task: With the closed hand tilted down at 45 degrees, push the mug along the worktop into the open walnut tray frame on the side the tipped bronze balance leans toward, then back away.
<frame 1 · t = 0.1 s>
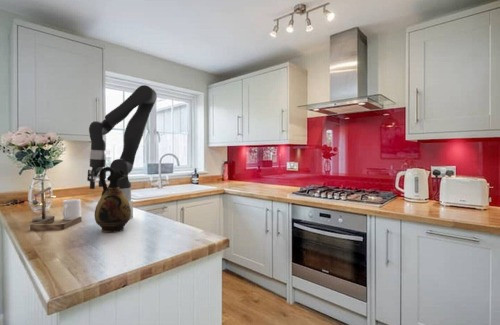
hand: (96, 187, 144), 17 cm above the worktop, tool pointing down, fingers open, 8 cm apart
tray frame: (57, 225, 132), on the worktop
mug: (70, 219, 144), on the worktop
ceramic jug: (112, 230, 125), on the worktop
balance: (43, 219, 143), on the worktop
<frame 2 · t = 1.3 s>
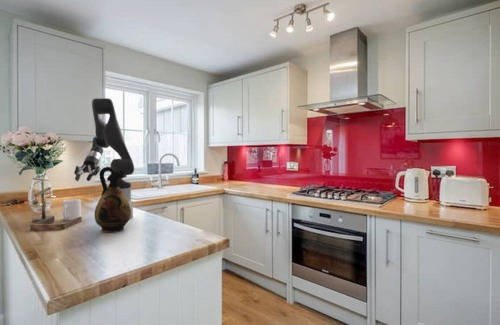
hand: (82, 180, 155), 20 cm above the worktop, tool tilted 45°, fingers open, 5 cm apart
nothing on the worktop moved.
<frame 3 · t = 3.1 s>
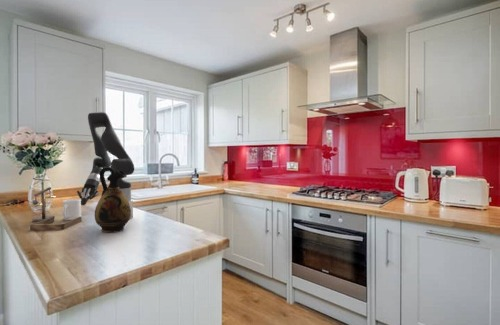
hand: (82, 204, 156), 6 cm above the worktop, tool tilted 45°, fingers closed
nothing on the worktop moved.
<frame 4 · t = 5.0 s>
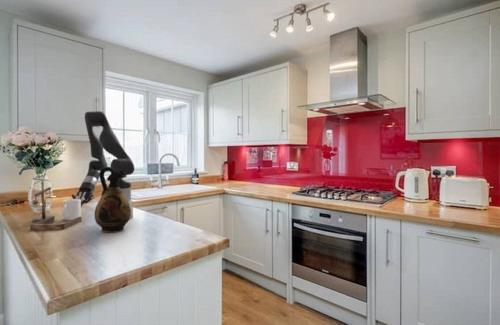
hand: (77, 209, 150), 4 cm above the worktop, tool tilted 45°, fingers closed
mug: (70, 219, 144), on the worktop, touching gripper
everything else where it was.
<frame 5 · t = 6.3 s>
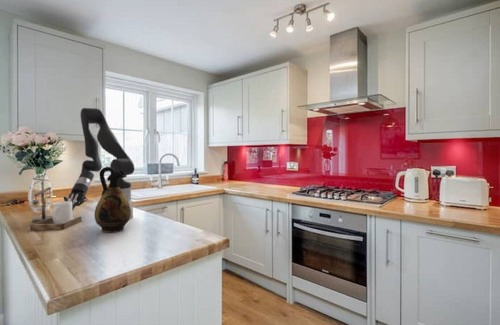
hand: (68, 211, 143), 4 cm above the worktop, tool tilted 45°, fingers closed
mug: (60, 223, 136), on the worktop, touching gripper
everything else where it was.
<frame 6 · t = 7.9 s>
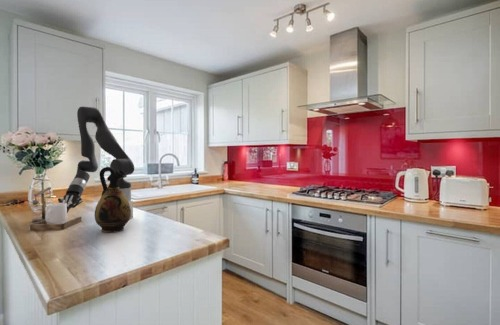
hand: (63, 213, 138), 4 cm above the worktop, tool tilted 45°, fingers closed
mug: (54, 225, 132), on the worktop, touching gripper
everything else where it was.
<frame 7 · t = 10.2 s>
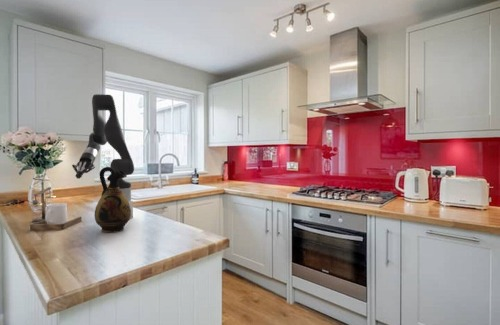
hand: (77, 177, 151), 22 cm above the worktop, tool tilted 45°, fingers closed
mug: (54, 225, 132), on the worktop
everything else where it was.
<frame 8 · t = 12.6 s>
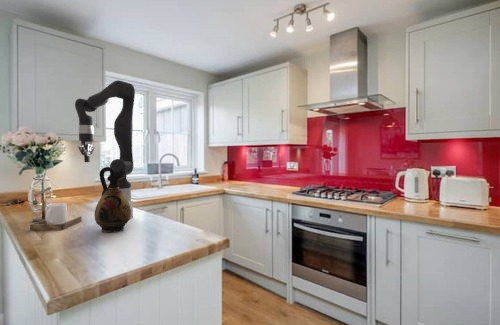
hand: (87, 162, 157), 31 cm above the worktop, tool pointing down, fingers closed
nothing on the worktop moved.
at the end: mug inside the target area (1.4 cm from its centre), on the worktop; mug tilted 0°; mug moved 11.9 cm from its start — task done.
